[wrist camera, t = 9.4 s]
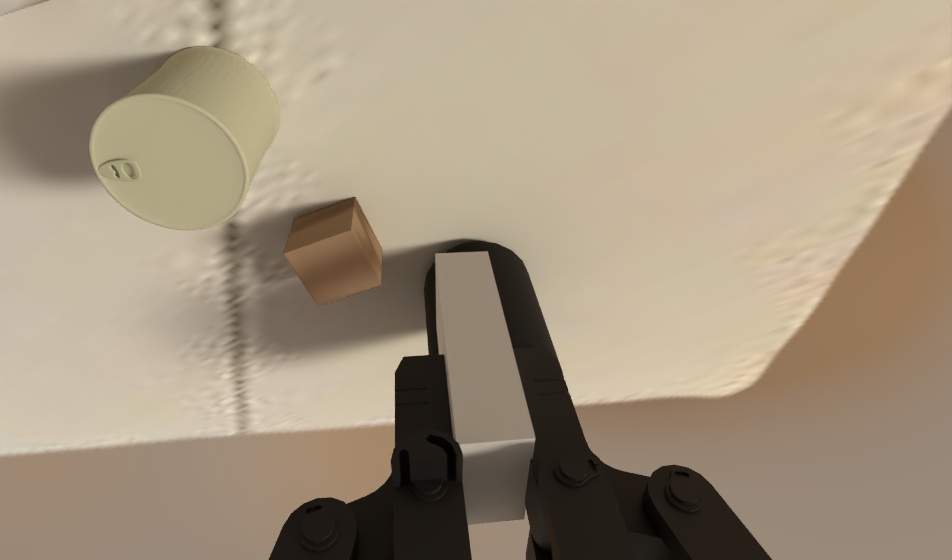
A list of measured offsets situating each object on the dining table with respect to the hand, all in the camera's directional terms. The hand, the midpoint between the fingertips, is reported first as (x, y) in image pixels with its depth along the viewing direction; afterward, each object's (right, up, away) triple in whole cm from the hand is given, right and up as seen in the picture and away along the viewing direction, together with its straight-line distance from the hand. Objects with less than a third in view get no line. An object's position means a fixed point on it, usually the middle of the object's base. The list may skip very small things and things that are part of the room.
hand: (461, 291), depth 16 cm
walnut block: (-12, +5, +35) cm, 38 cm away
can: (-20, +14, +27) cm, 37 cm away
